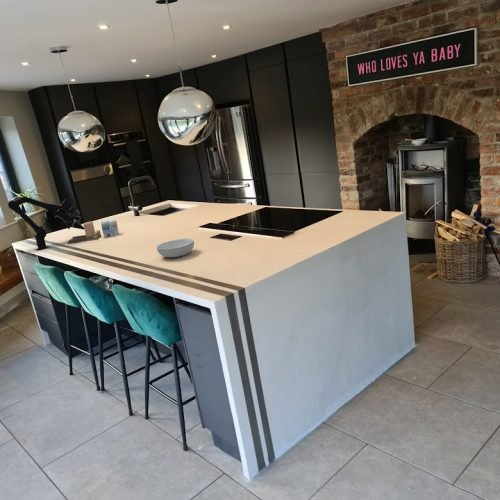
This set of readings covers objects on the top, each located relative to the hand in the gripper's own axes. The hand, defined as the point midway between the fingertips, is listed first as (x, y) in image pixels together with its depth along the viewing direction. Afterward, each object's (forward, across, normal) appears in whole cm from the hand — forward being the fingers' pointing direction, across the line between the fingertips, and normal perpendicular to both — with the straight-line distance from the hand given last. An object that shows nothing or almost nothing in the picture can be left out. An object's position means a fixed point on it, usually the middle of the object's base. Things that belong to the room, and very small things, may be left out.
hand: (84, 229), depth 338 cm
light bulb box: (+18, 0, -7) cm, 20 cm away
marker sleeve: (+7, 0, +2) cm, 7 cm away
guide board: (+5, 0, +6) cm, 8 cm away
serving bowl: (+58, -80, -46) cm, 109 cm away
